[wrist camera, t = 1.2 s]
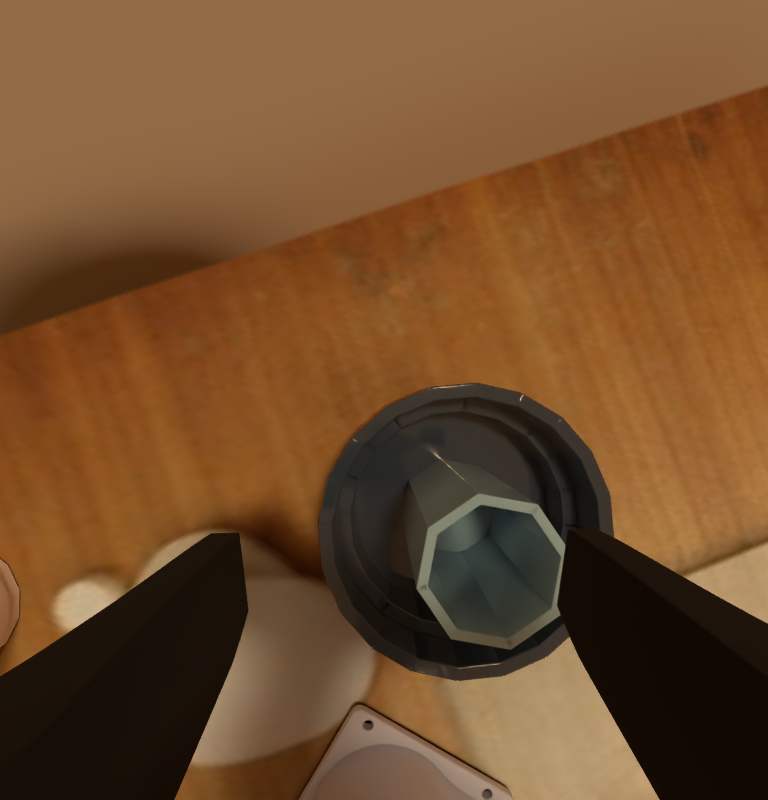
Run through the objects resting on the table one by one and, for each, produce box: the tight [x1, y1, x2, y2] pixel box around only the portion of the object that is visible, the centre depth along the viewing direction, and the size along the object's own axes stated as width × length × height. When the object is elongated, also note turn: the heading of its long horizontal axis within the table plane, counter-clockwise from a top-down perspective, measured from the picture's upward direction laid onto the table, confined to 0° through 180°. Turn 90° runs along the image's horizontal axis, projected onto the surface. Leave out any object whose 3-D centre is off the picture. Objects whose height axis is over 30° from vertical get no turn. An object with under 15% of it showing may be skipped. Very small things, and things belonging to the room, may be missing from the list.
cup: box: [402, 459, 565, 650], centre depth 15 cm, size 5×5×7 cm
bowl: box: [318, 383, 614, 681], centre depth 17 cm, size 12×12×4 cm
